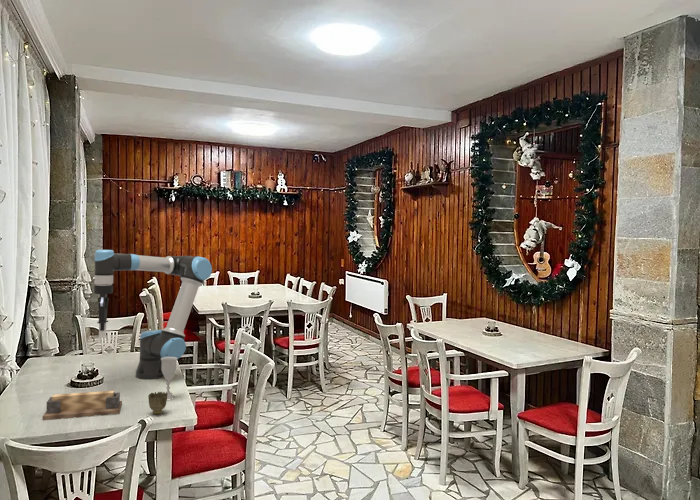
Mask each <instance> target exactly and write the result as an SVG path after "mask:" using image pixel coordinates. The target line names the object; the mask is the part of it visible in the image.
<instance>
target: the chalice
mask: <svg viewBox="0 0 700 500" xmlns="http://www.w3.org/2000/svg"><path fill="white" fill-rule="evenodd" d="M177 360H178V359H177V358H176V357H163V358H161V361H162V367H161V370H162V373H163V375H164V379H165V380H166V387H165V388H166V392H167V394H168V395H167V399H172V398H173V397H174V395H173V393H172V392H170V389H171V387H170V385H171V383H170V382H171V381H170V380H172V379H173V377H174V375H175V374H176V369H177ZM172 400H173V399H172Z"/></svg>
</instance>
